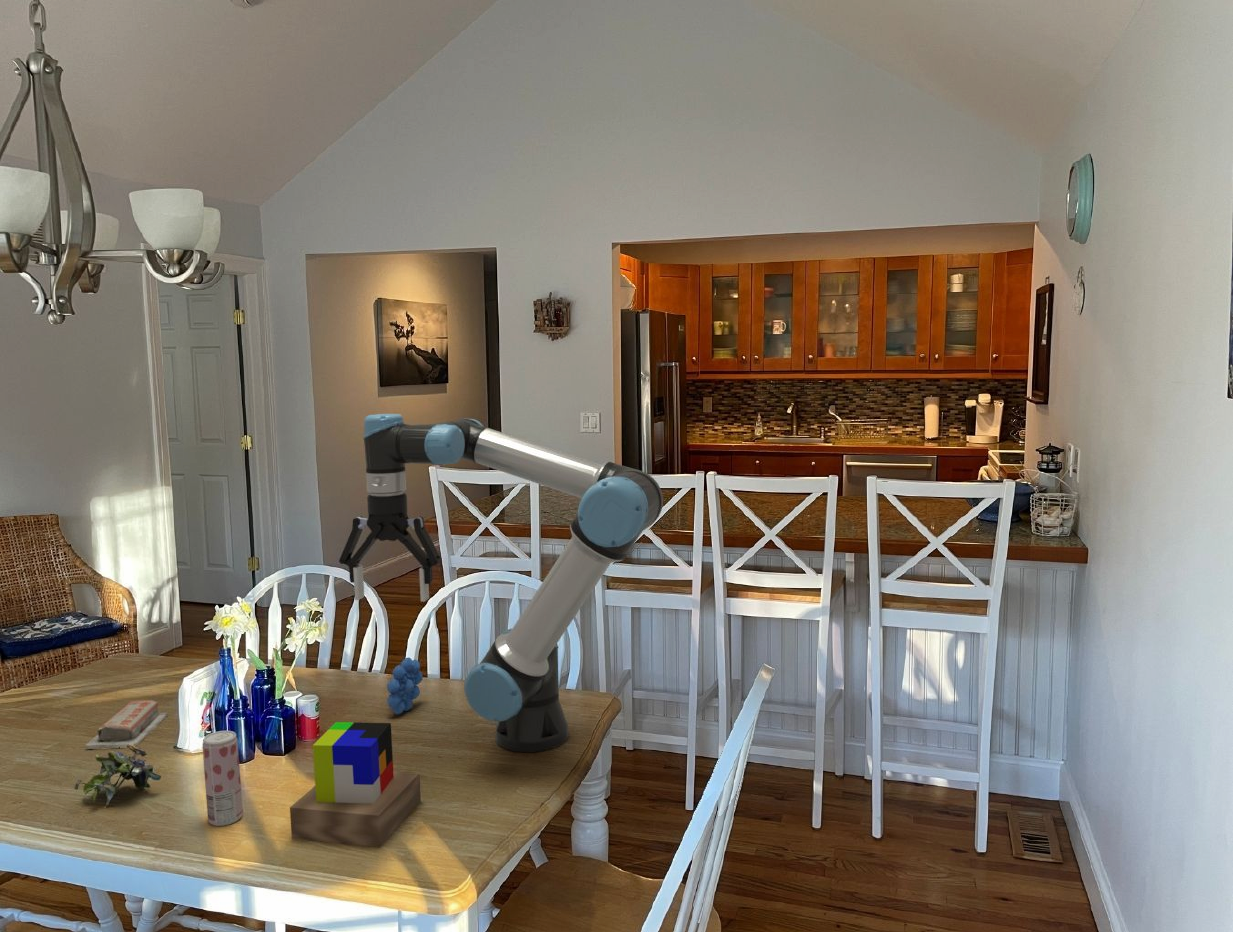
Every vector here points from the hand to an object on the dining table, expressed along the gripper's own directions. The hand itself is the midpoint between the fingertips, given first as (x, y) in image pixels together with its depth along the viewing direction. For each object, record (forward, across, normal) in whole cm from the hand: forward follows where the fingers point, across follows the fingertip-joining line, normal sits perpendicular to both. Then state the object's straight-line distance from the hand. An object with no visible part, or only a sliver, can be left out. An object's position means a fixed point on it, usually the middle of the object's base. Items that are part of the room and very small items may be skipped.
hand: (392, 599), depth 189 cm
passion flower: (+32, -44, -25) cm, 60 cm away
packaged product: (+32, -63, +4) cm, 71 cm away
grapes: (+32, -8, +22) cm, 40 cm away
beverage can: (+32, -20, -30) cm, 48 cm away
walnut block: (+32, +3, -27) cm, 42 cm away
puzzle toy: (+27, +3, -27) cm, 38 cm away
